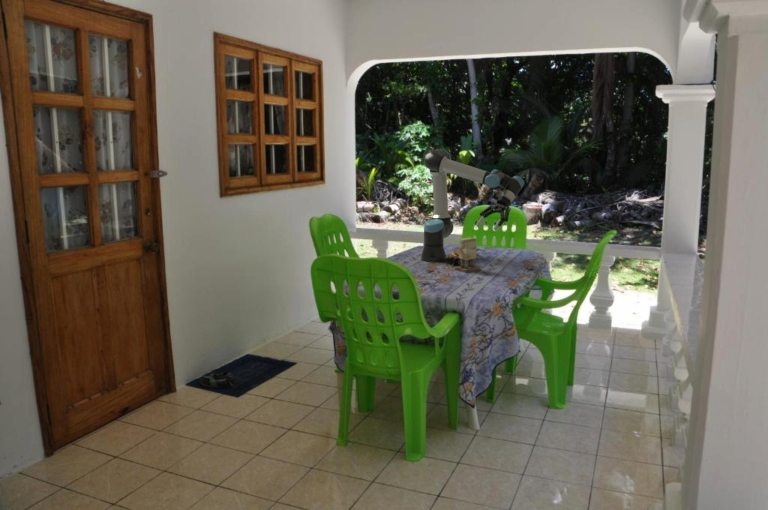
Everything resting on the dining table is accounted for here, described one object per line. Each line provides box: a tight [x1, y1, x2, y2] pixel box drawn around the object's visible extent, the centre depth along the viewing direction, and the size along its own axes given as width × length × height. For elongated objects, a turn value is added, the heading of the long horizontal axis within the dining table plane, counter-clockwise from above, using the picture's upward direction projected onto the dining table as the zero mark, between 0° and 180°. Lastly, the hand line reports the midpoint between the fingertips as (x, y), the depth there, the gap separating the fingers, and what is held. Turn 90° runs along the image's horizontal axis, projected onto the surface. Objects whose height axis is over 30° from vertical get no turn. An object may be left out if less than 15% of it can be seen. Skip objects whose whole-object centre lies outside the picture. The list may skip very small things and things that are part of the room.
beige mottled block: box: [458, 237, 477, 261], centre depth 346 cm, size 5×8×11 cm, turn 127°
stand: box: [454, 258, 481, 274], centre depth 347 cm, size 9×11×6 cm
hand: (485, 227), depth 352 cm, fingers open, 13 cm apart
